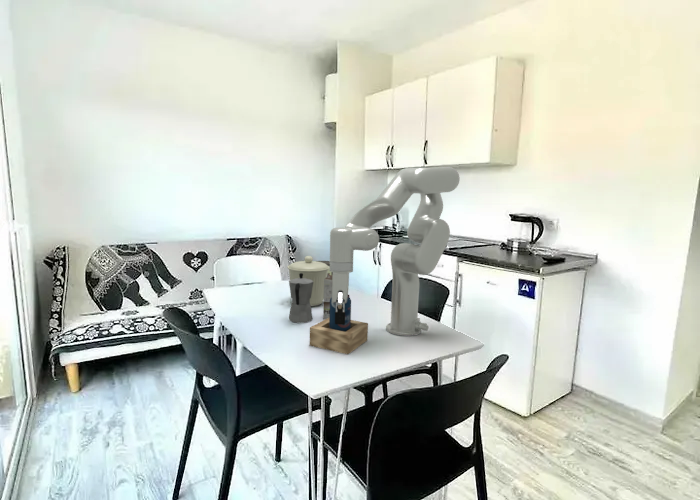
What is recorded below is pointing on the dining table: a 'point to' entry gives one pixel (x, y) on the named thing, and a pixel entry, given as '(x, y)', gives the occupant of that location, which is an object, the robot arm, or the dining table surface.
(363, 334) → the square wooden tray
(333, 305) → the soda can
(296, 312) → the coffeepot
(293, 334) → the dining table surface
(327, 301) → the coffee box
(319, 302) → the canister
